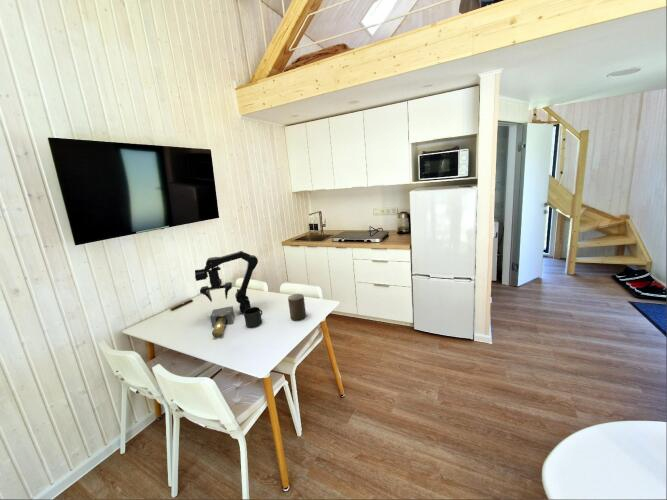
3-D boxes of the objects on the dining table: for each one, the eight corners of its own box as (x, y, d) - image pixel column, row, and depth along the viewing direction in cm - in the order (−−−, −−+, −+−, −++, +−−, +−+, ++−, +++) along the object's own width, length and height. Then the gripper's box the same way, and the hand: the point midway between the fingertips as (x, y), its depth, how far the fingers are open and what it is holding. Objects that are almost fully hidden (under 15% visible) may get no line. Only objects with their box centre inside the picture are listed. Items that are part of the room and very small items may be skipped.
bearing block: (215, 320, 175) (213, 309, 173) (234, 316, 177) (232, 305, 175) (212, 327, 165) (209, 316, 163) (232, 323, 168) (230, 312, 166)
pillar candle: (303, 321, 163) (300, 298, 159) (288, 320, 165) (285, 298, 161) (308, 313, 172) (305, 291, 168) (293, 313, 174) (290, 291, 170)
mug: (268, 320, 168) (266, 306, 166) (253, 329, 159) (250, 315, 156) (258, 317, 173) (256, 304, 171) (242, 326, 164) (240, 312, 162)
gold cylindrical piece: (217, 326, 165) (215, 318, 164) (227, 324, 166) (225, 316, 165) (213, 338, 152) (211, 329, 150) (223, 336, 153) (221, 327, 152)
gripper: (231, 271, 181) (235, 293, 185) (201, 276, 177) (206, 298, 181) (229, 276, 171) (233, 299, 175) (197, 281, 167) (202, 304, 171)
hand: (219, 300), depth 176 cm, fingers open, 9 cm apart
